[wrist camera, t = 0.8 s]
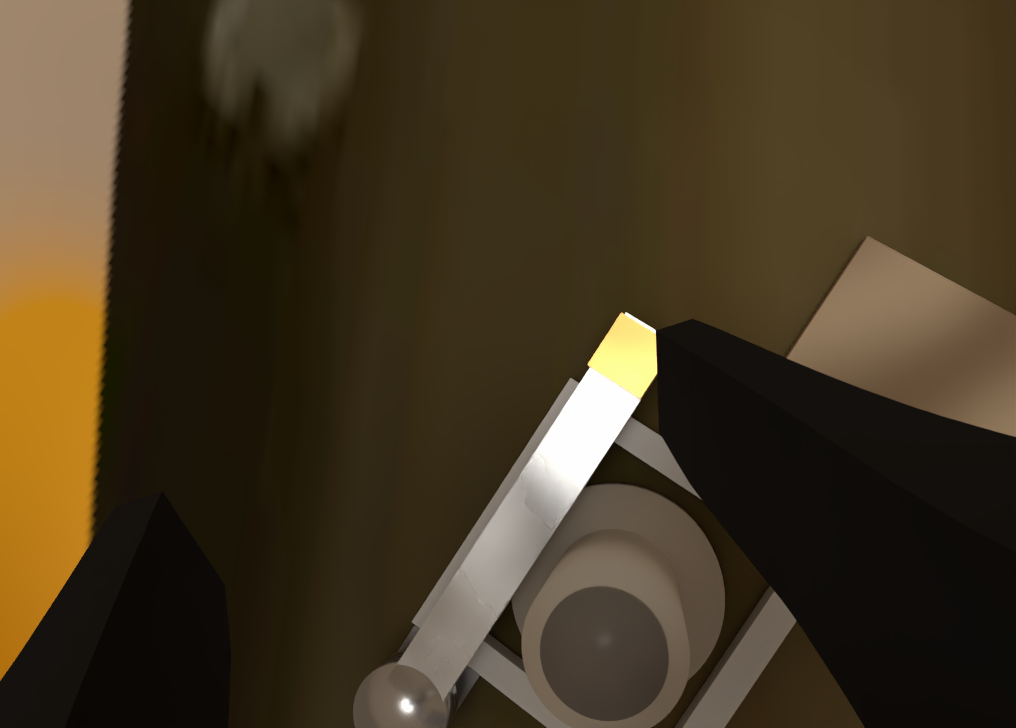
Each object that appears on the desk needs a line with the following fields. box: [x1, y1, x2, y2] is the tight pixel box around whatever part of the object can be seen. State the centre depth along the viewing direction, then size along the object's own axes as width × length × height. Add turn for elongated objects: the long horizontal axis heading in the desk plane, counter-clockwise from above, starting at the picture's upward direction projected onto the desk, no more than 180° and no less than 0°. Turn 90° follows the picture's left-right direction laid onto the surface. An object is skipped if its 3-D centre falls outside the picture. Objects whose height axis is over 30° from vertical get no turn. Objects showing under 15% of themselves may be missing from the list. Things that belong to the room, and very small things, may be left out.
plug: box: [511, 482, 725, 728], centre depth 20 cm, size 7×7×7 cm
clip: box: [353, 312, 657, 728], centre depth 21 cm, size 3×16×2 cm, turn 147°
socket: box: [412, 378, 796, 728], centre depth 23 cm, size 10×10×1 cm
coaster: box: [785, 236, 1016, 437], centre depth 22 cm, size 8×8×1 cm
